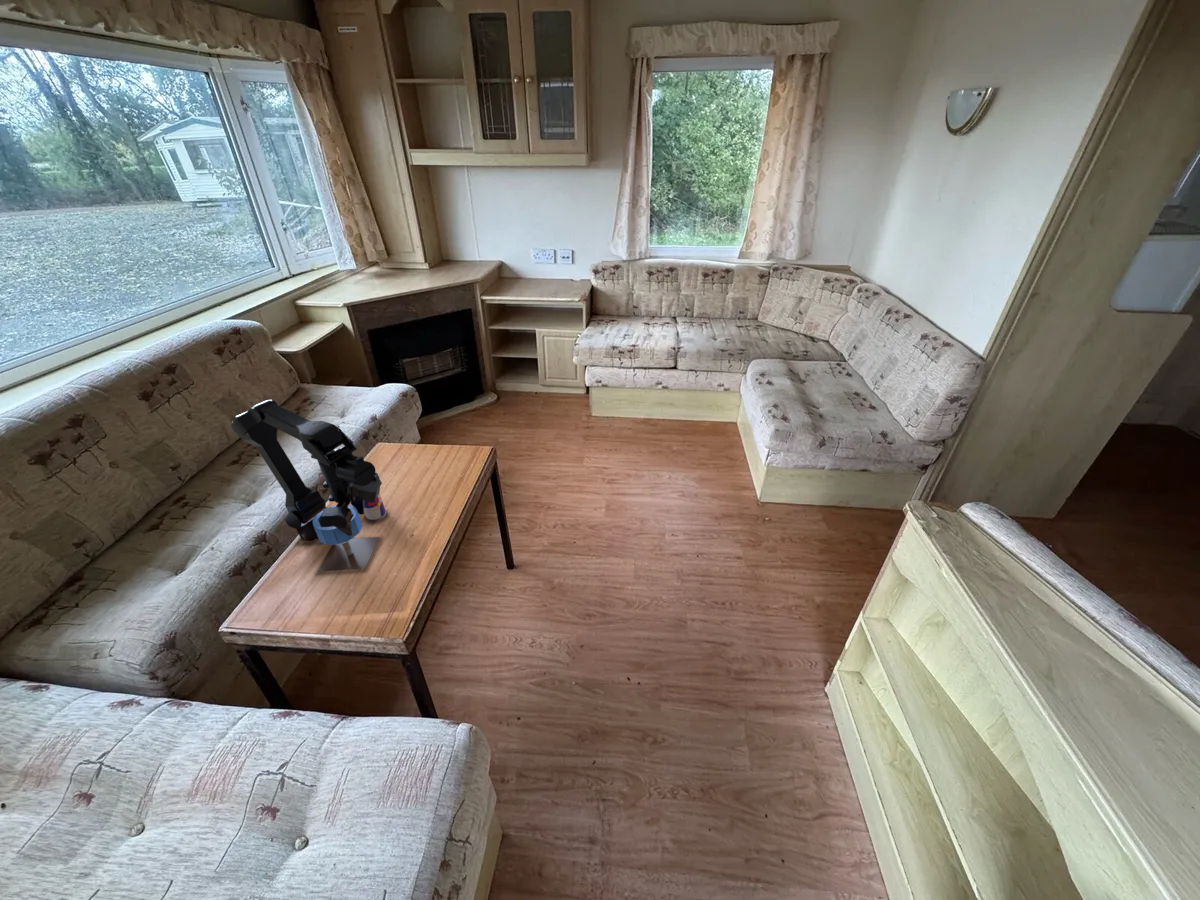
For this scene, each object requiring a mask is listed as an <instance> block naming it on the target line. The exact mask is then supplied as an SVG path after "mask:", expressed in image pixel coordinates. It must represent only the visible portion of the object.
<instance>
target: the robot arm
mask: <svg viewBox="0 0 1200 900" xmlns="http://www.w3.org/2000/svg"><path fill="white" fill-rule="evenodd" d="M230 426H231V429H232V431H233V432H234V433H235V434H236V435H237V436H239V437H240V439H241V440H242V441H243V442H245V443H247V444H249V445H250V446H254V447H255V448H256V450H257V451H258V453H259V454H260V456H261V457H262V459H263V460H264V462H265V464H266V465H267V467H268V468H269V470H270V471H271V473H272V474H273V475H274V478H275V479H276V482H277V483H278V484H279V486H280V487H281V489H282V490H283V492H284V494H285V502H284V503H285V505H284V506H285V508H286V510H287V512H288V513H287V515H286V517H285V518H284V522H285V523H286V524H287V526H288V527H290V528H293V529H295V530H296V531H297V533H298V535H299V538H300V539H301V540H302V539H303V540H304V541H306V542H313V541H316V540H319V538H318V536H317V533H316V531H315V529H314V526H313V520H314V518H315V517H316V515H317V514H318V513H320V512H321V511H323V510H324V509H325V510H324V511H323V513H322V514H321V516H320V517H319V519H318V521H319V524H320V526H321V527H336V528H338V529H339V530H341V531H342V532H344V533H345V534H346V535H348V536H351V535H353V532H352V527H351V522H350V521H351V519H352V517H353V515H354V514H352V512H351V510H350V509H349V508H348V506H349V505H350V503H351V504H352V505H353V506H355V507H356V509H357V511H358V514H359V516H360V515H365V512H364V500H366V501H368V502H374V501H376V498H377V496H378V495H379V493H381V492H380V491H381V486H382V484H383V481H382V479H380V476H379V473H378V472H377V471H376V466H375V465H374V464H373V463H372V462H371V461H367V460H365V458H364V457H363V456H359V455H357V456H356V455H354V454H353V453H354V452H356V451H357V450H358V447H357V446H356V445H354V441H353V440H352V439H351V438H350V437H349V436H348V435H347V434H346V433H345V432H344V431H343V430H342V429H341V428H340V427H339V426H337V425H336V424H333V423H331V422H328V421H325V420H324V421H323V420H309V419H307V418H305V417H304V416H302V415H299V414H298V413H295V412H293V411H291V410H290V409H287V408H286V407H284V406H281V405H279V404H278V402H276V401H275V400H273V399H267V400H264V401H261V402H259V403H257V404H255V405H253V406H252V407H251V408H249V409H248V410H246V411H245V412H242V413H240V414H237V415H236V416H234V417H232V422H231V424H230ZM278 430H279V431H281V432H283V433H286V434H287V435H288V436H291V437H293V438H295V439H297V440H298V441H300V442H301V445H302V448H303V450H305V451H307V452H308V453H309V454H310V458H311V459H313V460H316V461H317V464H318V466H319V468H320V471H321V473H322V477H323V478H324V482H323V483H322V486H323V489H328V491H329V493H330V494H329V496H328V501H329V502H335V503H336V505H337V506H336V507H332V506H328V507H327V503H326V500H325V498H323V497H322V495H321V493H320V492H319V491H318V490H317V489H312V488H311V487H308V486H307V485H306V484H305V482H304V481H303V479H302V478H301V476H300V474H299V473H298V471H297V469H296V468H295V466H294V465H293V463H292V461H291V460H290V458H289V457H288V455H287V453H286V451H285V450H284V449H283V447H282V445H281V443H280V441H279V440H278ZM342 445H343V447H341V446H342ZM339 448H341V449H339ZM336 449H339V450H338V451H335V450H336Z"/></svg>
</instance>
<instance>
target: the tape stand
mask: <svg viewBox="0 0 1200 900" xmlns="http://www.w3.org/2000/svg"><path fill="white" fill-rule="evenodd" d="M379 539H380V536H376V537H375V536H374V537H359V538H357V537H356V538H352V539H350V540H348V541H346V542H343V543H340V544H334V545H331V547H330V549H329V551H328V552H327V554H326V556H325V557H324V559H323V561H322V563H321V564H320V566H319V568H318V570H317V573H319V572H333V571H351V570H364V569H366V567H367V565H368V563H369V561H370V558H371V556H372V554H373V553H374V550H375V547H376V546H377V543H378V541H379Z"/></svg>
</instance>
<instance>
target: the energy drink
mask: <svg viewBox="0 0 1200 900" xmlns="http://www.w3.org/2000/svg"><path fill="white" fill-rule="evenodd" d="M386 514H387V511H386V508H385V505H384V502H383V499H382V497H381V492H379V495H378V496H377V498H376V501H374V502H368V501H366V500H364V515H365V517H366V519H367V520H368V521H370V522H375V521H379V520H381V519H383V518H384V517H385V516H386Z"/></svg>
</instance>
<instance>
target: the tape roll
mask: <svg viewBox="0 0 1200 900" xmlns="http://www.w3.org/2000/svg"><path fill="white" fill-rule="evenodd" d="M336 506H337V504H336V505H332V506H331V507H336ZM348 508H349V509H350V510H351V512H352V514H354V515H353V517H352V519H351V521H350V522H351V527H352V532H353V535H351V536H348V535H346V534H345V533H344V532H342V531H341V530H339V529H338V528H336V527H321V526H320V524H319V521H318V519H319V517H320V516H321V514H322V513H323V511H324V510H325V509H324V510H323V511H321V512H320V513H318V514H317V515H316V517H315V518H314V520H313V526H314V529H315V531H316V533H317V536H318V538H319V539H318V540H319V542H320V543H322V544H325V545H328V546H330V545H331V546H332V545H334V544H340V543H343V542H346V541H348V540H350V539H355V537H357V536H358V535H359V534H360V533H361V531H362V529H363V527H364V525H363V523H362V520H361V516H360V514H359V513H358V511H357V509H356V507H355V506H352V505H349V506H348Z"/></svg>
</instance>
